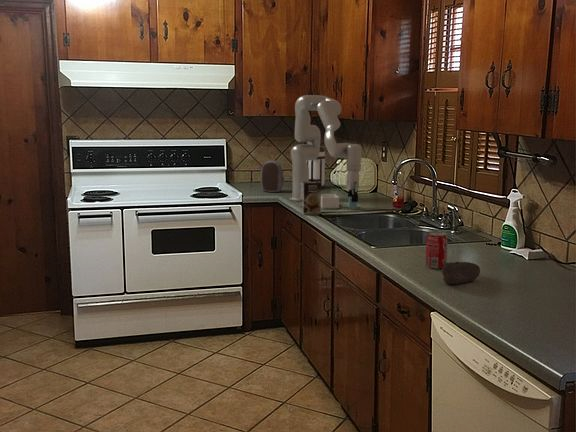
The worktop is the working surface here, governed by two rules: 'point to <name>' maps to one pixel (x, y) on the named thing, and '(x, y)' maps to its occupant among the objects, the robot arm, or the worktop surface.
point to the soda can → (436, 250)
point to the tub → (329, 201)
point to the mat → (348, 208)
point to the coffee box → (310, 198)
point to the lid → (350, 204)
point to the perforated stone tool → (460, 272)
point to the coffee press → (317, 168)
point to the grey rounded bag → (272, 176)
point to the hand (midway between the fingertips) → (352, 200)
